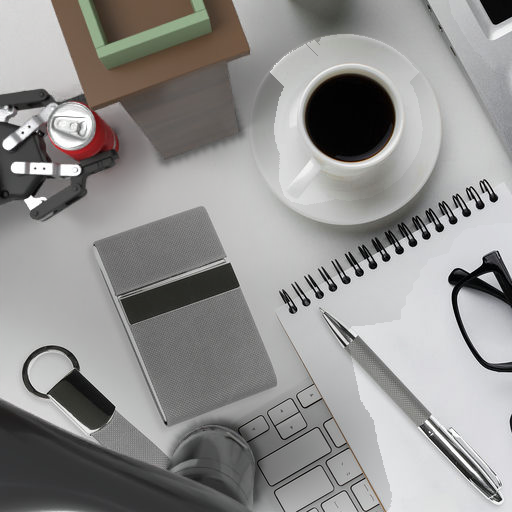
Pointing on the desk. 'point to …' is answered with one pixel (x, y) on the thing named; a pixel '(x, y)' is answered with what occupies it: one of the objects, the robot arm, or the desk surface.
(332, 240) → the desk surface
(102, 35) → the can holder
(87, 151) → the beverage can
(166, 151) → the stand column
